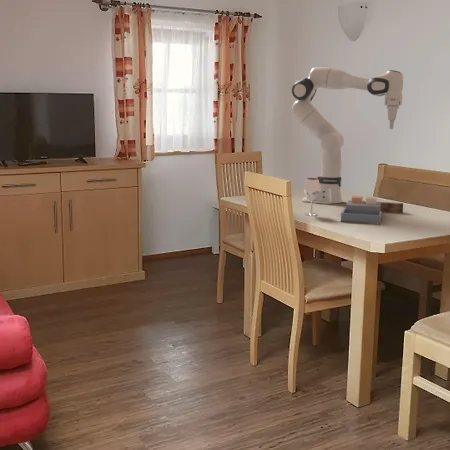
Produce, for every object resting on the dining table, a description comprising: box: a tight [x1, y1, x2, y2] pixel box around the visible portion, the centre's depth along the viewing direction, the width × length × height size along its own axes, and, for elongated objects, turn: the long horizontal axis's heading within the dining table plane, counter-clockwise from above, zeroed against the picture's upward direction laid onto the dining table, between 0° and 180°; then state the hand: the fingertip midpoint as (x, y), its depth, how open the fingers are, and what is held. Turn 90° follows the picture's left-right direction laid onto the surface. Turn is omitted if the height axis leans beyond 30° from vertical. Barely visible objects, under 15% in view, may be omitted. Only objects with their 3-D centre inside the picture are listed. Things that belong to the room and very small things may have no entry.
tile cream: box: [365, 196, 378, 204], centre depth 305 cm, size 5×5×2 cm
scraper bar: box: [380, 201, 404, 214], centre depth 314 cm, size 14×3×5 cm, turn 74°
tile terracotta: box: [351, 195, 364, 203], centre depth 307 cm, size 5×5×2 cm
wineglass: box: [303, 177, 321, 217], centre depth 303 cm, size 8×8×18 cm
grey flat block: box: [345, 199, 382, 211], centre depth 304 cm, size 16×14×6 cm
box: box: [340, 208, 383, 225], centre depth 292 cm, size 18×13×4 cm
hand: (391, 128), depth 323 cm, fingers open, 8 cm apart
